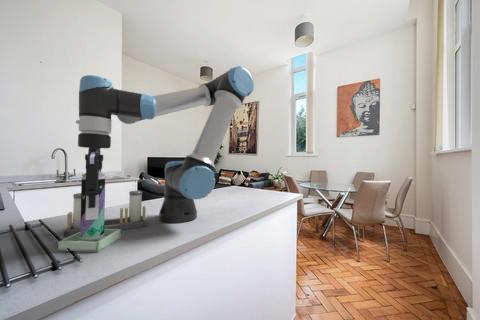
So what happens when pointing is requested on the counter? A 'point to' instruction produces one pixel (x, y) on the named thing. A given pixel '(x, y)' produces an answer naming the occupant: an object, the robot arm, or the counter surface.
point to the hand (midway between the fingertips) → (93, 216)
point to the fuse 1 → (77, 211)
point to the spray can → (96, 226)
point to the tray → (89, 242)
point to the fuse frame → (70, 231)
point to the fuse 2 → (135, 206)
